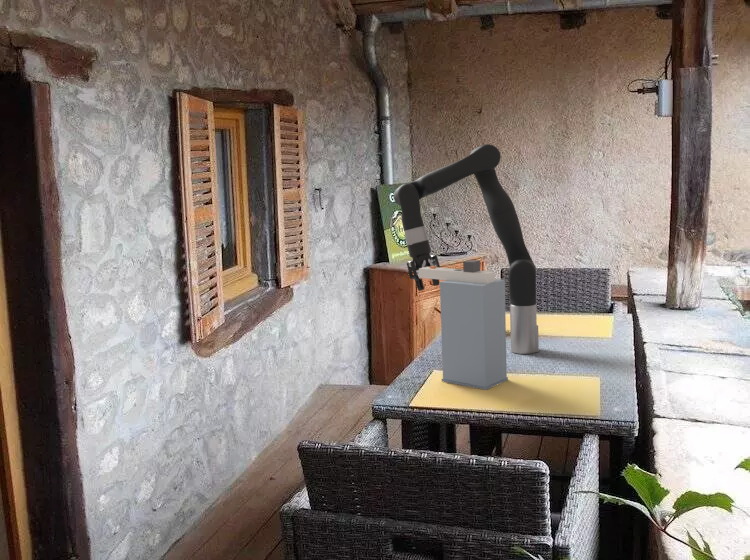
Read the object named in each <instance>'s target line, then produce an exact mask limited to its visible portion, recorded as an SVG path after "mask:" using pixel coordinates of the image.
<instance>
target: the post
mask: <svg viewBox="0 0 750 560" xmlns="http://www.w3.org/2000/svg"><path fill="white" fill-rule="evenodd" d="M439 296H440V297H439V298H440V301H439V303H440V326H441V327H440V328H441V329H440V330H441V332H440V333H441V334H440V335H441V354H442V355H441V358H442V362H441V364H442V378H441V382H442V381H444V382H443V383H447V382H448V383H447V384H452V383H453V384H452V385H457V384H458V385H459V386H463V387H468V386H469V388H473V387H474V388H473V389H478V388H479V389H478V390H483V389H484V390H483V391H487V390H490V389H491V388H493V386H494V387H495V386H498V385H500V384H502V383H505V382H507V381H508V380H509V377H508V376H507V375H508V374H507V372H508V371H507V370H508V369H507V331H506V330H507V328H506V327H507V326H506V325H507V324H506V320H507V319H506V279H498V278H495V282H492V283H488V284H485V283H474V282H462V281H451V280H441V281H439ZM497 384H498V385H497ZM458 385H457V386H458Z"/></svg>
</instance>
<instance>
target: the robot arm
mask: <svg viewBox="0 0 750 560" xmlns="http://www.w3.org/2000/svg"><path fill="white" fill-rule="evenodd" d="M500 162H501V152H500V150H499V148H497V146H495V145H493V144H489V143H488V144H487V143H486V144H481V145H479V146H477V147H475V148H474V149H472V150H471V151H470V153H469V155H466V156H465V157H463V158H460V159H459V160H457V161H455V162H453V163H450V164H447V165H445V166H442V167H440V168H437V169H434V170H432V171H430V172H428V173H426V174H423V175H422V176H420V177H419V178H417V179H416V180H413V181H411V182H409V183H408V182H407V183H403V184H402V185H400V186H399V187H397V188H396V189H395V191H394V192H393V200H394V202H395V204H397V206H399V207H400V208H401V218H400V219H401V225H402V227H403V232H404V238H405V244H406V246H407V251H408V253H409V257H410V259H411V258H412V260H410V261H406V267H407V270H408V276H409V279H410V280H414V281H415V285H416V288H417V290H418V291H424V290H425V286H424V281H423V278H419V268H424V267H430V266H436V267H439V268H441V266H440V262H439V259H438V256H437V254H433V255H431V252H432V249H431V245H430V241H429V236H428V233H427V230H426V227H425V223H424V220H423V217H422V213H421V202H420V200H421V199H423V198H425V197H428V196H430V195H433V194H435V193H437V192H440V191H441V190H444V189H446V188H448V187H450V186H452V185H453V184H455V183H457V182H459V181H460V180H463V179H466V178H468V177H469V176H472V175H473V176H474V177H475V179H476V182H477V184H478V186H479V188H480V191H481V194H482V198H483V202H484V203H485V207H486V209H487V212H488V216H489V219H490V221H491V225H492V228H493V229H494V231H495V234H496V235H497V237H498V240H500V243H501V245H502V246H503V248H504V251H505V253H506V257H507V260H508V261H507V262H508V266H509V270H508V290H509V291H508V293H509V296H508V297H509V315H510V316H509V321H510V322H509V323H510V329H509V330H510V351H511V353H514V354H519V355H520V354H521V355H524V354H526V355H530V354H535V353H539V352H540V351H539V346H540V344H539V343H540V341H539V340H540V339H539V325H538V324H537V323H538V322H537V319H538V318H537V316H538V315H537V279H536V278H537V268H536V265H535V263H534V261H533V258H532V257H531V254H530V253H529V250H528V249H527V246H526V243H525V240H524V235H523V230H522V228H521V223H520V219H519V216H518V214H517V211H516V208H515V205H514V202H513V200H512V199H511V197H510V196H509V194H508V193H507V192H506V190H505V189H504V188H503V186H502V185H501V182H500V181H499V180H500V179H499V178H498V175H497V172H496V167H498V165H499V164H500ZM431 280H432V281H431V282H432V285H433V286H434V287H435V286H440V280H439V279H431Z"/></svg>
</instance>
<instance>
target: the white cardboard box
mask: <svg viewBox="0 0 750 560" xmlns="http://www.w3.org/2000/svg"><path fill="white" fill-rule="evenodd" d="M462 264H463V265H462V268H452V267H450V268H448V267H440V268H439V267H437V266H436V265H435V266H430V267H424V268H419V278H421V279H428V280H429V279H431V280H432V279H439V281H440V280H441V281H446V280H451V281H462V282H474V283H485V284H488V283H492V282H495V279H496V271H491V270H490V271H489V270H481V260H479V259H478V260H477V259H469V260H468V259H467V260H464V261H462Z"/></svg>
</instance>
